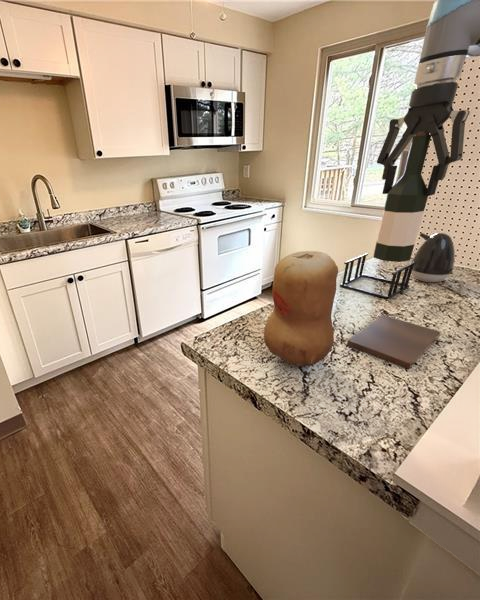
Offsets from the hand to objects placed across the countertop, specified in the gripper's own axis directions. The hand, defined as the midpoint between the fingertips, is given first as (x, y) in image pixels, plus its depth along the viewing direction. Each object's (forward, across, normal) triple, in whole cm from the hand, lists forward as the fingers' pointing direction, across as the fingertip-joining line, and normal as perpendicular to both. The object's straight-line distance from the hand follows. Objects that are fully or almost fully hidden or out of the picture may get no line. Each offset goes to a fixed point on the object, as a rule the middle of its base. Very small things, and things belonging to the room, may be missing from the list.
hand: (407, 194), depth 76 cm
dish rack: (+30, -7, +11) cm, 33 cm away
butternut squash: (+31, +2, -41) cm, 51 cm away
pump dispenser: (+31, 0, +28) cm, 41 cm away
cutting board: (+30, +11, -18) cm, 37 cm away
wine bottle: (+17, 0, 0) cm, 17 cm away
